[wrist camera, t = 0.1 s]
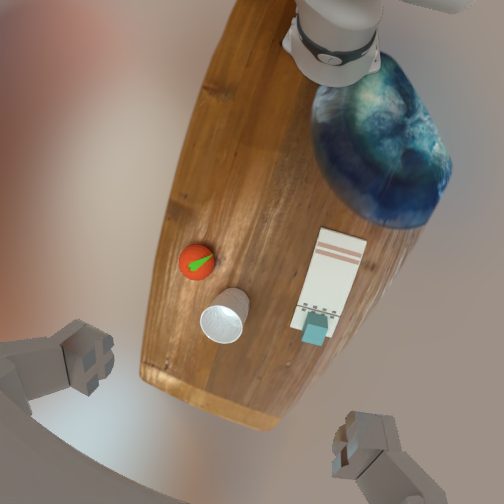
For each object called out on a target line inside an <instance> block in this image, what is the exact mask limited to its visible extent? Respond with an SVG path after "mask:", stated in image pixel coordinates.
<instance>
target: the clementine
mask: <svg viewBox="0 0 504 504" xmlns="http://www.w3.org/2000/svg"><path fill="white" fill-rule="evenodd" d="M179 268H180V270H181V272H182V273H183V275H184V276H185V277H187V278H189V279H191V280H202V279H205V278H206V277H208V276H209V275H210V274H211V272H212V270H213V268H214V257H213V254H212V253H211V252H210V250H209V249H207V248H206V247H204V246H202V245H191V246H189V247H187V248H186V249H184V250H183V252H182V253H181V255H180V258H179Z"/></svg>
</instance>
